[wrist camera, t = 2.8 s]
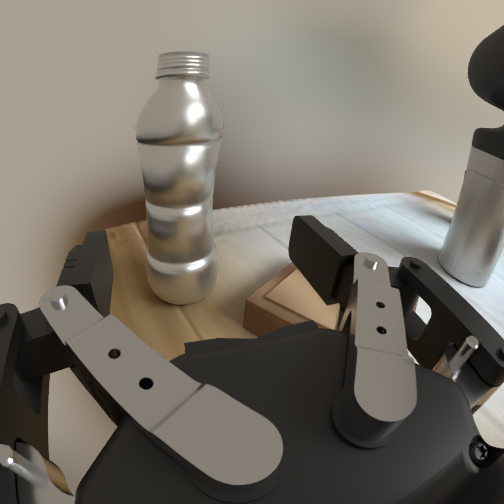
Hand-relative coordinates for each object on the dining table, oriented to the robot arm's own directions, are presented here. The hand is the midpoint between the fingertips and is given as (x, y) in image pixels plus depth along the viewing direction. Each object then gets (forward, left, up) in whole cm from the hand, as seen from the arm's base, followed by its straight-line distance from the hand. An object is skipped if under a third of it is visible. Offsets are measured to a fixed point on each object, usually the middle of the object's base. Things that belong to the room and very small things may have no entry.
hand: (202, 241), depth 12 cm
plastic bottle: (-6, -9, -11) cm, 16 cm away
